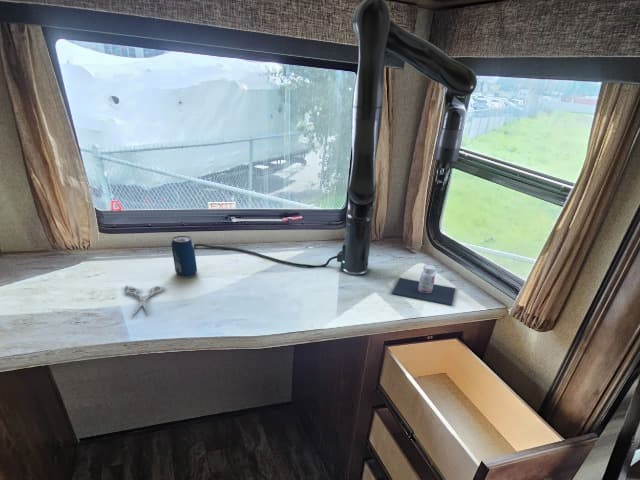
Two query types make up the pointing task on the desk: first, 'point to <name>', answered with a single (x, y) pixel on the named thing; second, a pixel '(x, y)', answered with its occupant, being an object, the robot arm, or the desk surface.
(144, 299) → the scissors
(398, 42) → the robot arm
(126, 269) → the desk surface
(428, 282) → the pill bottle
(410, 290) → the mat
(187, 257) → the soda can
